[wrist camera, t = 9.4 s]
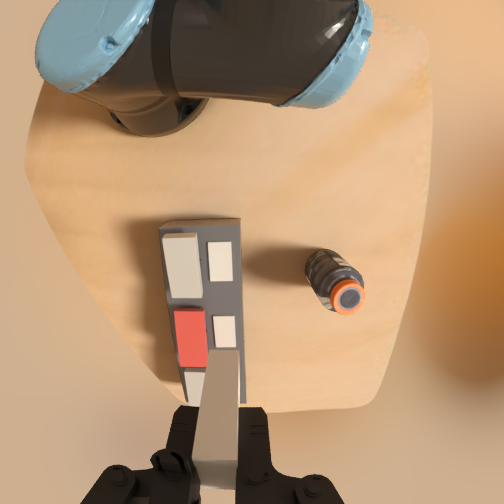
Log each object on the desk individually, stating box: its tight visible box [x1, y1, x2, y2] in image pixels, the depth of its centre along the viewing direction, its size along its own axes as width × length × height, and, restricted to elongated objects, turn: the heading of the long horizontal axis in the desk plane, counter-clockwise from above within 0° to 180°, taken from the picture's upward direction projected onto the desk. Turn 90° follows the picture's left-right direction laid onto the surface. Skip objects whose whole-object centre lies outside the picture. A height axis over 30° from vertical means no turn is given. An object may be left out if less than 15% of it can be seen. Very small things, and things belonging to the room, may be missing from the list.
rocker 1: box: [162, 233, 203, 298], centre depth 33 cm, size 8×4×1 cm, turn 1°
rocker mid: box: [174, 308, 208, 367], centre depth 36 cm, size 8×4×1 cm, turn 1°
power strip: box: [159, 218, 246, 403], centre depth 39 cm, size 29×10×6 cm, turn 1°
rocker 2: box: [184, 367, 206, 407], centre depth 38 cm, size 8×4×1 cm, turn 1°
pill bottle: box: [305, 249, 365, 315], centre depth 35 cm, size 6×6×11 cm
